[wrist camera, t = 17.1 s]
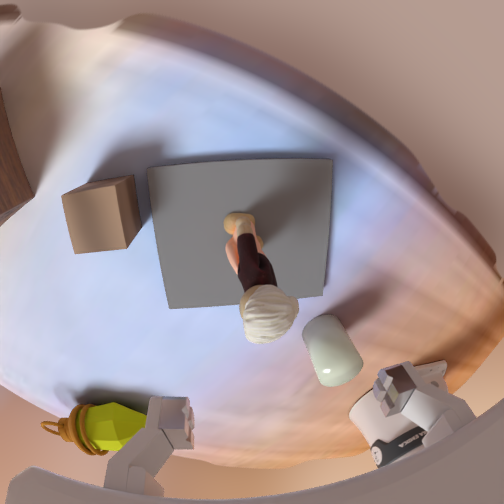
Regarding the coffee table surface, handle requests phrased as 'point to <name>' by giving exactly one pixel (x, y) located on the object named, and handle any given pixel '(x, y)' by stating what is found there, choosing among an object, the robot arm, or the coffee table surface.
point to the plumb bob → (99, 427)
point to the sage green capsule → (331, 350)
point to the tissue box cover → (10, 172)
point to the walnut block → (102, 215)
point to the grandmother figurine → (257, 283)
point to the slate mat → (240, 201)
